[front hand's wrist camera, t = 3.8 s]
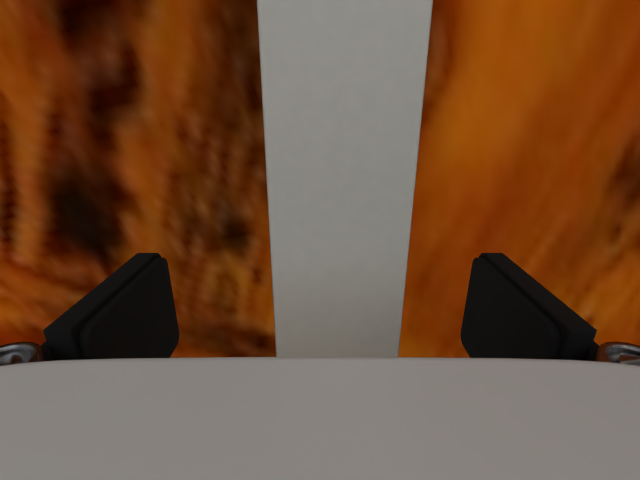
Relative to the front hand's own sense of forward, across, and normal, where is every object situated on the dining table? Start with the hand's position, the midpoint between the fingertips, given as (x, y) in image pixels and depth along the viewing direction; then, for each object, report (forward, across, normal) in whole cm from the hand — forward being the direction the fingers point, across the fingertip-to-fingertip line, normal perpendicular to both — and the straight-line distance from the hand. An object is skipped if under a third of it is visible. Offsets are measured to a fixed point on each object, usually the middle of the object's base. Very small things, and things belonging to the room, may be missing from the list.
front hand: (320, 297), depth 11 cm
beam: (+10, -1, -24) cm, 26 cm away
